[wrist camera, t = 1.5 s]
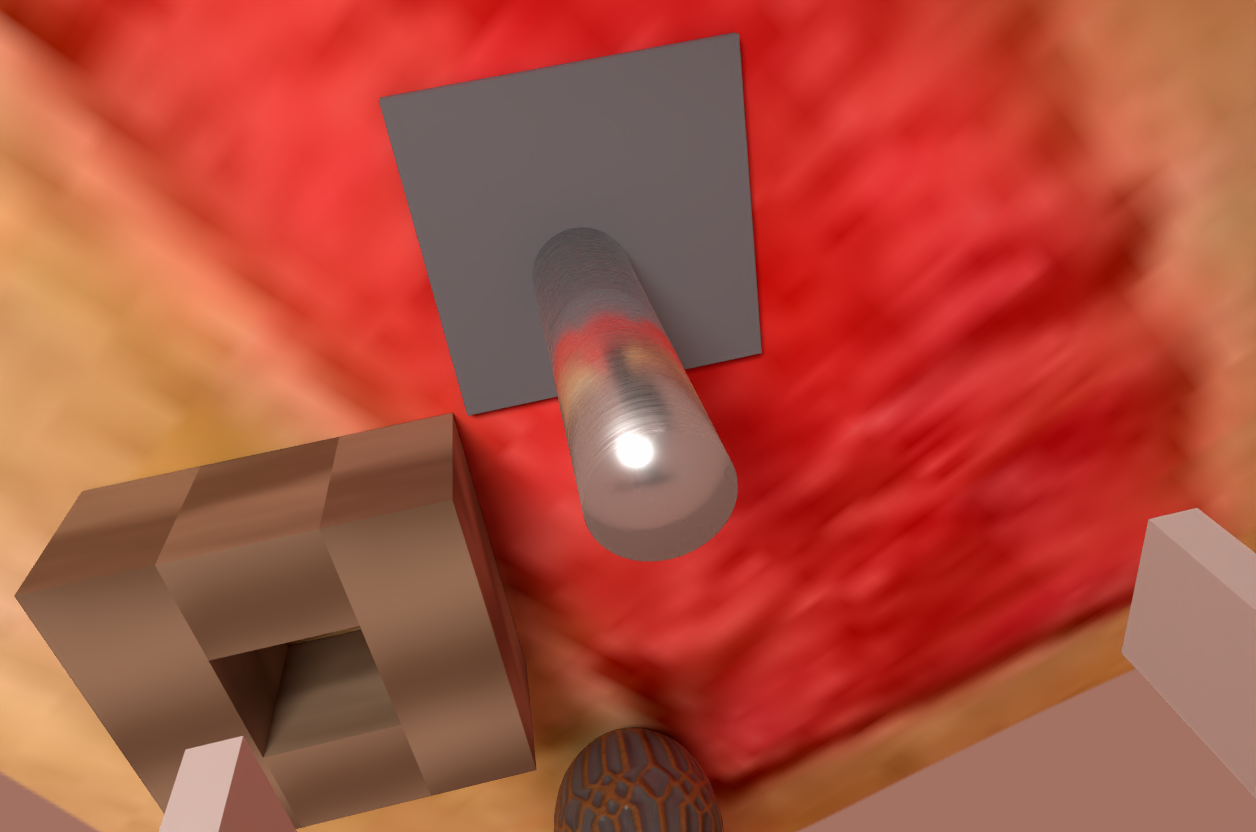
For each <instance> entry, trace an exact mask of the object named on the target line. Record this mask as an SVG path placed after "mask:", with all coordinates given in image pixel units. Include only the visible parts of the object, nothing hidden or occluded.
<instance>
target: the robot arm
mask: <svg viewBox="0 0 1256 832" xmlns="http://www.w3.org/2000/svg"><path fill="white" fill-rule="evenodd" d="M1121 653H1122V654H1123V655H1124V657H1125V658H1126V659H1127V660H1128V661H1129V662H1130V663H1131V664H1132V665H1133V666H1134V667H1135V669H1136V670H1137V671H1138V672H1139V673H1140V674H1141V675H1142V676H1143V677H1144V678H1145V679H1146V680H1147V682H1148V683H1149V684H1150V685H1151V686H1152V687H1153V688H1154V689H1155V690H1156V691H1157V692H1158V693H1159V695H1160V696H1161V697H1162V698H1163V699H1164V700H1165V701H1166V702H1167V703H1168V704H1169V705H1170V707H1171V708H1172V709H1173V710H1174V711H1175V712H1176V713H1177V714H1178V715H1179V716H1180V717H1181V718H1182V720H1183V721H1184V722H1185V723H1186V724H1187V725H1188V726H1189V727H1190V728H1191V729H1192V730H1193V732H1194V733H1195V734H1196V735H1197V736H1198V737H1199V738H1200V739H1201V740H1202V741H1203V742H1204V743H1205V745H1207V747H1208V748H1209V749H1210V750H1211V751H1212V752H1213V753H1214V754H1215V755H1216V757H1217V758H1218V759H1219V760H1220V761H1221V762H1222V763H1223V764H1224V765H1225V766H1226V767H1227V768H1228V770H1229V771H1230V772H1231V773H1232V774H1233V775H1234V776H1235V777H1236V778H1237V779H1238V780H1239V781H1240V782H1241V784H1242V785H1243V786H1244V787H1245V788H1246V789H1247V790H1248V791H1249V792H1250V793H1251V795H1252V796H1253V797H1254V798H1255V799H1256V553H1254V552H1253V551H1252V550H1251V549H1249V548H1248V547H1247V546H1245V545H1244V544H1243V543H1242V542H1240V541H1239V540H1238V539H1236V538H1235V537H1234V536H1233V535H1231V534H1230V533H1229V532H1227V531H1226V530H1225V529H1224V528H1222V527H1221V526H1220V525H1219V524H1217V523H1216V522H1215V521H1213V520H1212V519H1211V518H1210V517H1208V516H1207V515H1206V514H1204V513H1203V512H1202V511H1201V510H1199V509H1198V508H1194V509H1190V510H1186V511H1181V512H1177V513H1173V514H1169V515H1165V516H1160V517H1156V518H1152V519H1149V520H1148V525H1147V530H1146V535H1145V540H1144V545H1143V549H1142V554H1141V559H1140V564H1139V569H1138V574H1137V579H1136V584H1135V588H1134V593H1133V598H1132V603H1131V608H1130V613H1129V618H1128V622H1127V627H1126V632H1125V637H1124V642H1123V647H1122V652H1121ZM159 832H297V831H296V829H295V827H294V825H293V823H292V822H291V820H290V818H289V816H288V815H287V813H286V811H285V809H284V807H283V806H282V804H281V802H280V800H279V799H278V797H277V795H276V793H275V791H274V790H273V788H272V786H271V784H270V783H269V781H268V779H267V777H266V775H265V774H264V772H263V770H262V768H261V767H260V765H259V763H258V761H257V759H256V758H255V756H254V754H253V752H252V751H251V749H250V747H249V745H248V743H247V742H246V740H245V738H244V736H240V737H236V738H232V739H228V740H223V741H219V742H215V743H211V744H207V745H202V746H198V747H194V748H190V749H186V750H185V753H184V756H183V759H182V762H181V765H180V768H179V771H178V774H177V777H176V780H175V783H174V786H173V790H172V793H171V796H170V799H169V802H168V805H167V808H166V811H165V814H164V817H163V820H162V823H161V827H160V830H159Z"/></svg>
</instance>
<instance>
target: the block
mask: <svg viewBox="0 0 1256 832" xmlns="http://www.w3.org/2000/svg"><path fill="white" fill-rule="evenodd" d="M15 598H16V599H17V601H18V602H19V603H20V605H21V606H22V608H23V609H24V611H25V612H26V614H27V615H28V617H29V618H30V619H31V621H32V622H33V624H34V625H35V627H36V628H37V630H38V631H39V633H40V634H41V635H42V637H43V638H44V640H45V641H46V643H47V644H48V646H49V647H50V648H51V650H52V651H53V653H54V654H55V656H56V657H57V659H58V660H59V662H60V663H61V664H62V666H63V667H64V669H65V670H66V672H67V673H68V675H69V676H70V678H71V679H72V680H73V682H74V683H75V685H76V686H77V688H78V689H79V691H80V692H81V694H82V695H83V696H84V698H85V699H86V701H87V702H88V704H89V705H90V707H91V708H92V709H93V711H94V712H95V714H96V715H97V717H98V718H99V720H100V721H101V723H102V724H103V725H104V727H105V728H106V730H107V731H108V733H109V734H110V736H111V737H112V739H113V740H114V741H115V743H116V744H117V746H118V747H119V749H120V750H121V752H122V753H123V754H124V756H125V757H126V759H127V760H128V762H129V763H130V765H131V766H132V768H133V769H134V770H135V772H136V773H137V775H138V776H139V778H140V779H141V781H142V782H143V784H144V785H145V786H146V788H147V789H148V791H149V792H150V794H151V795H152V797H153V798H154V800H155V801H156V802H157V804H158V805H159V807H160V808H161V810H162V811H163V813H164V814H165V811H166V808H167V805H168V802H169V799H170V796H171V793H172V790H173V786H174V783H175V780H176V777H177V774H178V771H179V768H180V765H181V762H182V759H183V756H184V753H185V750H186V749H190V748H194V747H198V746H202V745H207V744H211V743H215V742H219V741H223V740H228V739H232V738H236V737H240V736H244V738H245V740H246V742H247V743H248V745H249V747H250V749H251V751H252V752H253V754H254V756H255V758H256V759H257V761H258V763H259V765H260V767H261V768H262V770H263V772H264V774H265V775H266V777H267V779H268V781H269V783H270V784H271V786H272V788H273V790H274V791H275V793H276V795H277V797H278V799H279V800H280V802H281V804H282V806H283V807H284V809H285V811H286V813H287V815H288V816H289V818H290V820H291V822H292V823H293V825H294V827H295V829H298V828H302V827H306V826H310V825H314V824H318V823H322V822H326V821H330V820H334V819H338V818H342V817H346V816H351V815H355V814H359V813H363V812H367V811H371V810H375V809H379V808H383V807H387V806H391V805H395V804H399V803H403V802H408V801H412V800H416V799H420V798H424V797H428V796H432V795H436V794H440V793H444V792H448V791H452V790H456V789H460V788H465V787H469V786H473V785H477V784H481V783H485V782H489V781H493V780H497V779H501V778H505V777H509V776H513V775H517V774H522V773H526V772H530V771H534V770H536V761H535V750H534V740H533V730H532V720H531V709H530V699H529V689H528V679H527V668H526V663H525V660H524V656H523V653H522V649H521V646H520V642H519V639H518V636H517V632H516V629H515V625H514V622H513V618H512V615H511V612H510V608H509V605H508V601H507V598H506V594H505V591H504V588H503V584H502V581H501V577H500V574H499V570H498V567H497V564H496V560H495V557H494V553H493V550H492V546H491V543H490V540H489V536H488V533H487V529H486V526H485V522H484V519H483V516H482V512H481V509H480V505H479V502H478V498H477V495H476V492H475V488H474V485H473V481H472V478H471V474H470V471H469V468H468V464H467V461H466V457H465V454H464V450H463V447H462V444H461V440H460V437H459V433H458V430H457V427H456V423H455V420H454V416H453V413H450V414H445V415H440V416H436V417H431V418H426V419H422V420H417V421H412V422H407V423H403V424H398V425H393V426H389V427H384V428H379V429H375V430H370V431H365V432H360V433H356V434H351V435H346V436H342V437H337V438H332V439H327V440H323V441H318V442H313V443H309V444H304V445H299V446H294V447H290V448H285V449H280V450H276V451H271V452H266V453H261V454H257V455H252V456H247V457H243V458H238V459H233V460H229V461H224V462H219V463H214V464H210V465H205V466H200V467H196V468H191V469H186V470H181V471H177V472H172V473H167V474H163V475H158V476H153V477H148V478H144V479H139V480H134V481H130V482H125V483H120V484H116V485H111V486H106V487H101V488H97V489H92V490H87V491H83V492H81V494H80V495H79V497H78V498H77V500H76V502H75V503H74V505H73V506H72V508H71V509H70V511H69V512H68V514H67V515H66V517H65V519H64V520H63V522H62V523H61V525H60V526H59V528H58V529H57V531H56V532H55V534H54V536H53V537H52V539H51V540H50V542H49V543H48V545H47V546H46V548H45V549H44V551H43V553H42V554H41V556H40V557H39V559H38V560H37V562H36V563H35V565H34V566H33V568H32V570H31V571H30V573H29V574H28V576H27V577H26V579H25V580H24V582H23V583H22V585H21V587H20V588H19V590H18V591H17V593H16V594H15ZM357 626H360V628H361V630H359V631H355V632H350V633H346V634H342V635H337V636H333V637H329V638H324V639H320V640H316V641H311V642H307V643H302V644H298V645H294V646H289V647H288V645H287V643H288V642H292V641H296V640H301V639H305V638H309V637H314V636H318V635H323V634H327V633H331V632H336V631H340V630H344V629H349V628H353V627H357Z"/></svg>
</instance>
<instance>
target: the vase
mask: <svg viewBox="0 0 1256 832" xmlns="http://www.w3.org/2000/svg"><path fill="white" fill-rule="evenodd" d="M554 832H724V829H723V821H722V816H721V812H720V808H719V805H718V802H717V799H716V796H715V793H714V791H713V788H712V786H711V783H710V781H709V779H708V778H707V776H706V774H705V772H704V771H703V769H702V768H701V766H700V765H699V763H698V762H697V761H696V759H695V758H694V757H693V756H692V755H691V754H690V753H689V752H688V751H687V749H686V748H684V747H683V746H682V745H681V744H679V743H678V742H676V741H675V740H673V739H671V738H670V737H668V736H666V735H664V734H661V733H658V732H655V731H652V730H648V729H642V728H624V729H619V730H615V731H612V732H609V733H606V734H604V735H602V736H600V737H599V738H597V739H596V740H594V741H593V742H592V743H590V744H589V745H588V746H587V747H586V748H585V749H583V750H582V751H581V752H580V753H579V754H578V756H577V757H576V758H575V759H574V761H573V762H572V764H571V765H570V767H569V768H568V770H567V771H566V773H565V775H564V778H563V780H562V783H561V786H560V788H559V792H558V797H557V801H556V807H555V815H554Z"/></svg>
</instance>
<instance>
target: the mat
mask: <svg viewBox="0 0 1256 832" xmlns="http://www.w3.org/2000/svg"><path fill="white" fill-rule="evenodd" d="M379 103H380V106H381V110H382V114H383V117H384V121H385V124H386V128H387V131H388V135H389V138H390V142H391V145H392V149H393V153H394V156H395V160H396V163H397V167H398V170H399V174H400V177H401V181H402V184H403V188H404V192H405V195H406V199H407V202H408V206H409V209H410V213H411V216H412V220H413V224H414V227H415V231H416V234H417V238H418V241H419V245H420V248H421V252H422V255H423V259H424V263H425V266H426V270H427V273H428V277H429V280H430V284H431V287H432V291H433V295H434V298H435V302H436V305H437V309H438V312H439V316H440V319H441V323H442V326H443V330H444V334H445V337H446V341H447V344H448V348H449V351H450V355H451V358H452V362H453V366H454V369H455V373H456V376H457V380H458V383H459V387H460V390H461V394H462V397H463V401H464V405H465V408H466V412H467V415H468V416H469V415H473V414H478V413H483V412H487V411H492V410H497V409H501V408H506V407H511V406H515V405H520V404H525V403H530V402H534V401H539V400H544V399H548V398H553V397H558V396H557V391H556V386H555V382H554V377H553V373H552V368H551V363H550V359H549V354H548V350H547V345H546V340H545V336H544V331H543V327H542V322H541V317H540V313H539V308H538V304H537V299H536V294H535V290H534V285H533V275H532V272H533V266H534V262H535V259H536V257H537V255H538V253H539V251H540V250H541V248H542V247H543V246H544V244H545V243H546V242H547V241H548V240H550V239H551V238H552V237H554V236H555V235H557V234H559V233H560V232H563V231H565V230H568V229H572V228H579V227H586V228H593V229H597V230H600V231H602V232H605V233H606V234H608V235H610V236H611V237H612V238H614V239H615V240H616V241H617V242H618V243H619V244H620V246H621V247H622V248H623V250H624V252H625V254H626V256H627V258H628V260H629V262H630V264H631V266H632V268H633V270H634V272H635V274H636V276H637V278H638V279H639V281H640V283H641V285H642V287H643V289H644V291H645V293H646V295H647V297H648V299H649V301H650V303H651V305H652V307H653V309H654V311H655V313H656V315H657V317H658V319H659V321H660V323H661V325H662V326H663V328H664V330H665V332H666V334H667V336H668V338H669V340H670V342H671V344H672V346H673V348H674V350H675V352H676V354H677V356H678V358H679V360H680V362H681V364H682V366H683V368H684V370H685V369H689V368H694V367H699V366H703V365H708V364H713V363H717V362H722V361H727V360H732V359H736V358H741V357H746V356H750V355H755V354H760V353H762V350H761V336H760V322H759V308H758V294H757V280H756V266H755V252H754V238H753V224H752V210H751V196H750V182H749V168H748V154H747V140H746V126H745V112H744V98H743V84H742V70H741V56H740V42H739V34H737V33H729V34H724V35H718V36H713V37H707V38H702V39H696V40H691V41H686V42H680V43H675V44H669V45H664V46H658V47H653V48H647V49H642V50H637V51H631V52H626V53H620V54H615V55H609V56H604V57H598V58H593V59H587V60H582V61H577V62H571V63H566V64H560V65H555V66H549V67H544V68H538V69H533V70H527V71H522V72H517V73H511V74H506V75H500V76H495V77H489V78H484V79H478V80H473V81H468V82H462V83H457V84H451V85H446V86H440V87H435V88H429V89H424V90H418V91H413V92H408V93H402V94H397V95H391V96H386V97H380V98H379Z"/></svg>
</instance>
